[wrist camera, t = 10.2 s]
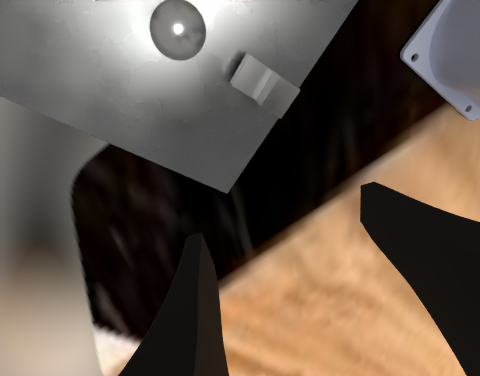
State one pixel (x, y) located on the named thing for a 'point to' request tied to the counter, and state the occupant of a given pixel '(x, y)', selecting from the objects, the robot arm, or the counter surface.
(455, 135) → the counter surface
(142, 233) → the counter surface
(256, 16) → the base
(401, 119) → the counter surface
